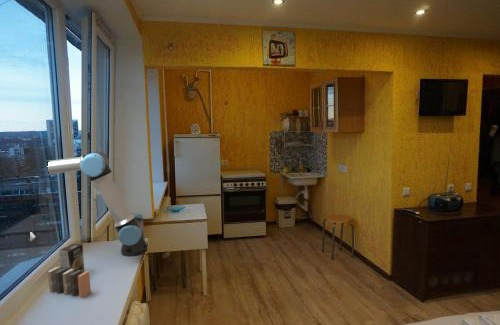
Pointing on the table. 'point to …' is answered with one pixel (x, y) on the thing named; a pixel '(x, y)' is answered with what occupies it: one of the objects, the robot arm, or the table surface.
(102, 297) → the table surface
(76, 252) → the coffee box
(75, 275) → the domino
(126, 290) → the table surface
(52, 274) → the domino
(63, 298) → the table surface
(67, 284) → the domino
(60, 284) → the domino
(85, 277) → the domino
